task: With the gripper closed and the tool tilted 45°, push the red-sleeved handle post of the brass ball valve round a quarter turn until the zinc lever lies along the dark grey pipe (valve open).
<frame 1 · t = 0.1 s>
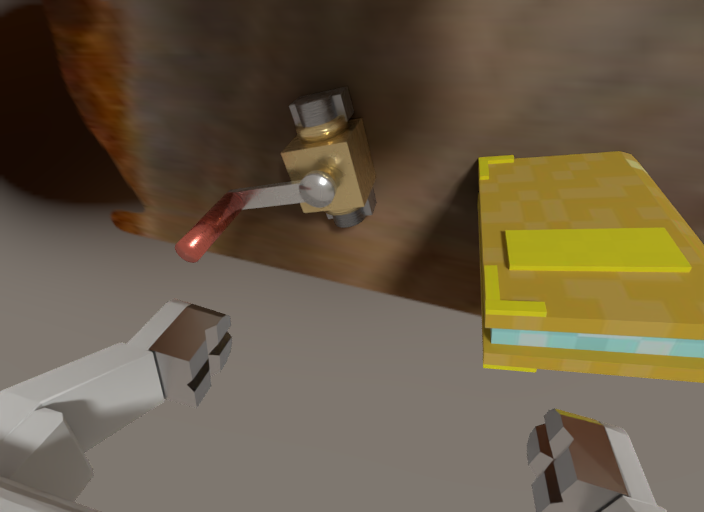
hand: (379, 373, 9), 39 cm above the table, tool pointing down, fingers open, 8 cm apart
book: (553, 177, 44), on the table
valve body: (340, 153, 48), on the table
lever: (259, 217, 39), point 15 cm above the table, hinge at -90.0°
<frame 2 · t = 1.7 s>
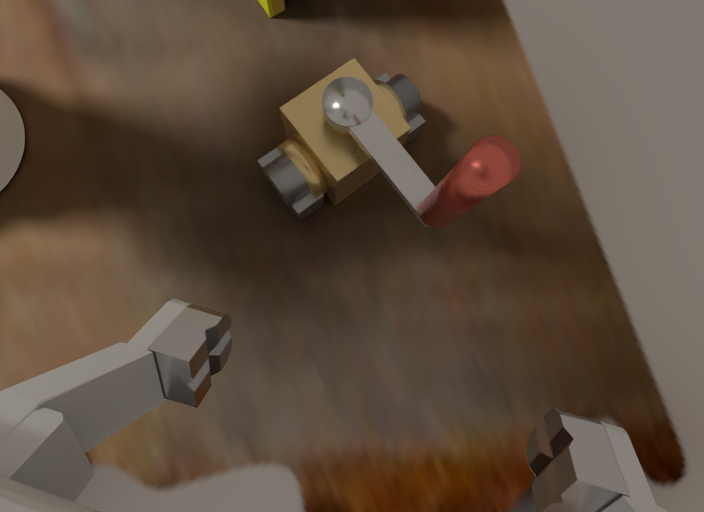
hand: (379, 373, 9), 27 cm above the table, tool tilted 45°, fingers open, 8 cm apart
valve body: (342, 154, 39), on the table
lever: (400, 124, 24), point 15 cm above the table, hinge at -90.0°
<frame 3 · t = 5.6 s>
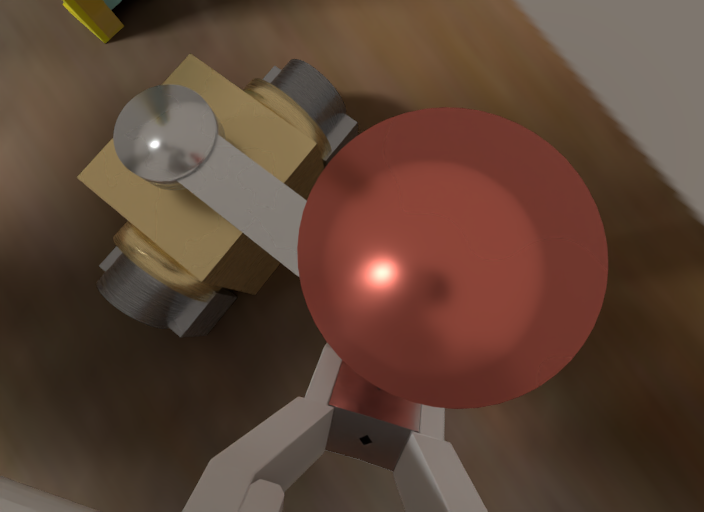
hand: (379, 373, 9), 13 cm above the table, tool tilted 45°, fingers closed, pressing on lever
valve body: (248, 209, 24), on the table
lever: (214, 154, 9), point 14 cm above the table, hinge at -90.0°, touching gripper
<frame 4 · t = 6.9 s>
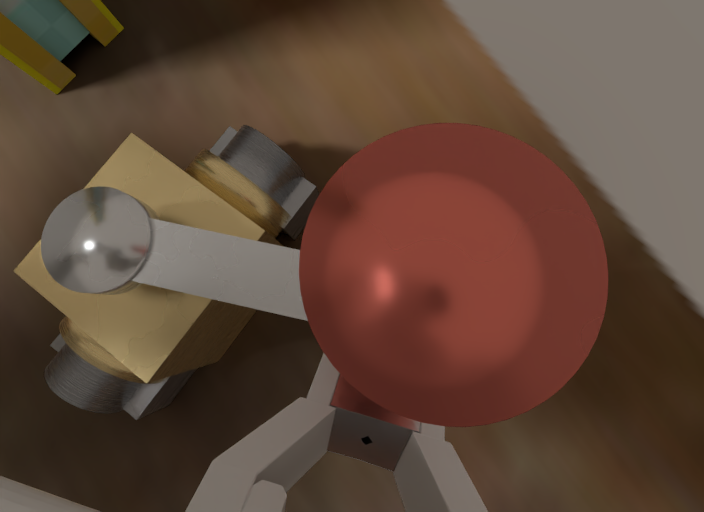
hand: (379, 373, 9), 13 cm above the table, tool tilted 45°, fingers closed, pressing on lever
valve body: (209, 271, 24), on the table
lever: (160, 245, 9), point 15 cm above the table, hinge at -66.2°, touching gripper
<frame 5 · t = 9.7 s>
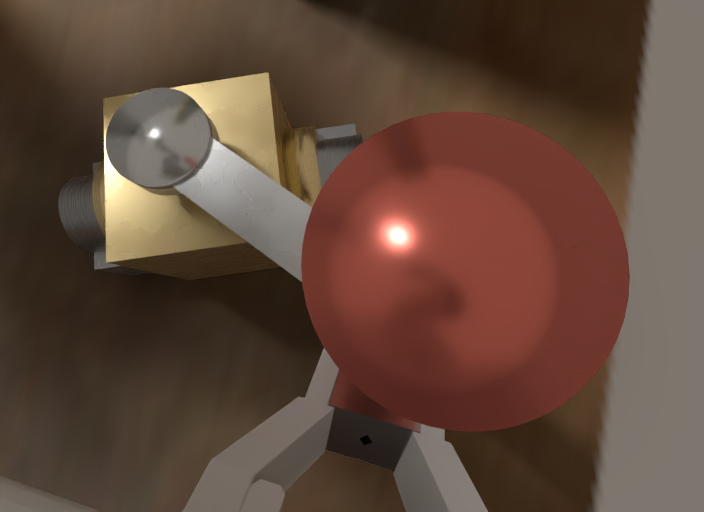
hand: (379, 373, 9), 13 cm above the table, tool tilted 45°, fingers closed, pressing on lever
valve body: (245, 211, 24), on the table
lever: (208, 159, 9), point 15 cm above the table, hinge at -43.7°, touching gripper
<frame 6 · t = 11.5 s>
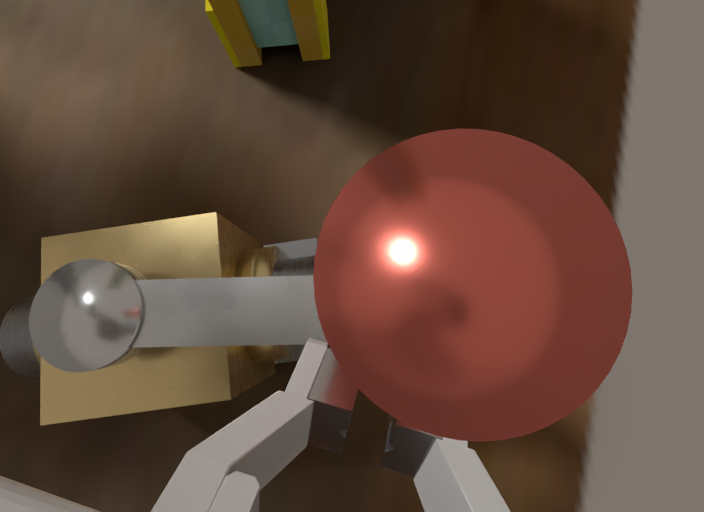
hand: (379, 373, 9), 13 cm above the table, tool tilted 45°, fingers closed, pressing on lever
valve body: (207, 315, 23), on the table
lever: (156, 307, 9), point 14 cm above the table, hinge at -6.6°, touching gripper
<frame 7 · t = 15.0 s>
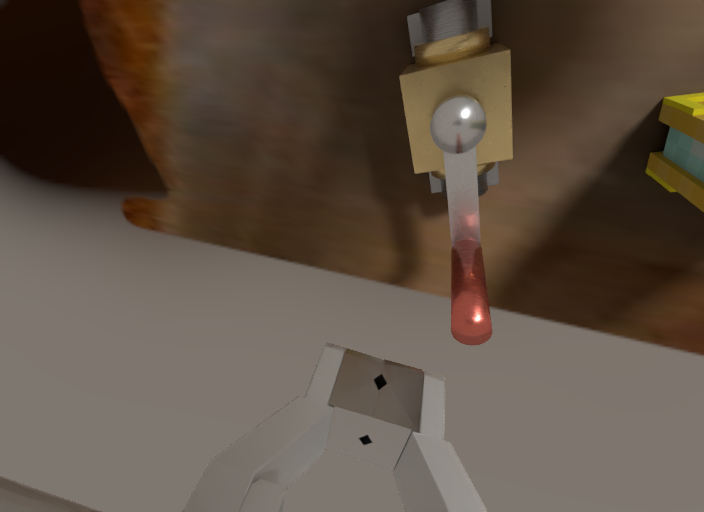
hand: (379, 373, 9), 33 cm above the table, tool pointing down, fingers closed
valve body: (456, 100, 36), on the table
lever: (463, 215, 26), point 15 cm above the table, hinge at -1.3°
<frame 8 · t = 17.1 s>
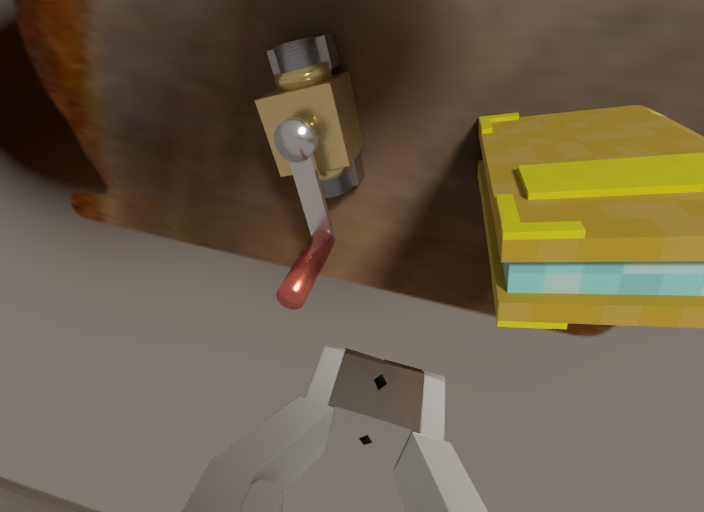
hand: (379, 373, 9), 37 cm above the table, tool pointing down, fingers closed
book: (562, 140, 39), on the table
valve body: (324, 115, 43), on the table
lever: (293, 211, 34), point 14 cm above the table, hinge at -1.3°
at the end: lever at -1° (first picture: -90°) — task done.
